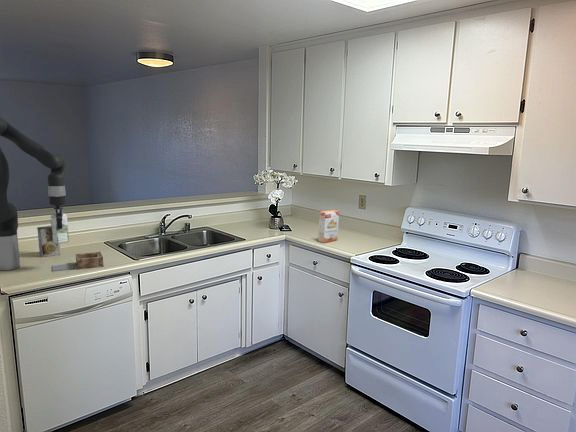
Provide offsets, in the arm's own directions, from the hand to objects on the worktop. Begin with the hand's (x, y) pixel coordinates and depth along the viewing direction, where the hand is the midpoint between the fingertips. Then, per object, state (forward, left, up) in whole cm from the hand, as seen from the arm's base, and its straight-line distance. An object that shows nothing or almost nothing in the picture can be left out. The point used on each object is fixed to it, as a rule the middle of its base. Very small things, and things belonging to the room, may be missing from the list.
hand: (59, 227), depth 209 cm
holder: (+13, 0, -21) cm, 25 cm away
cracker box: (+161, -8, -21) cm, 162 cm away
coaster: (0, 0, -21) cm, 21 cm away
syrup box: (0, 0, -8) cm, 8 cm away
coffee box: (-5, +30, -21) cm, 37 cm away
